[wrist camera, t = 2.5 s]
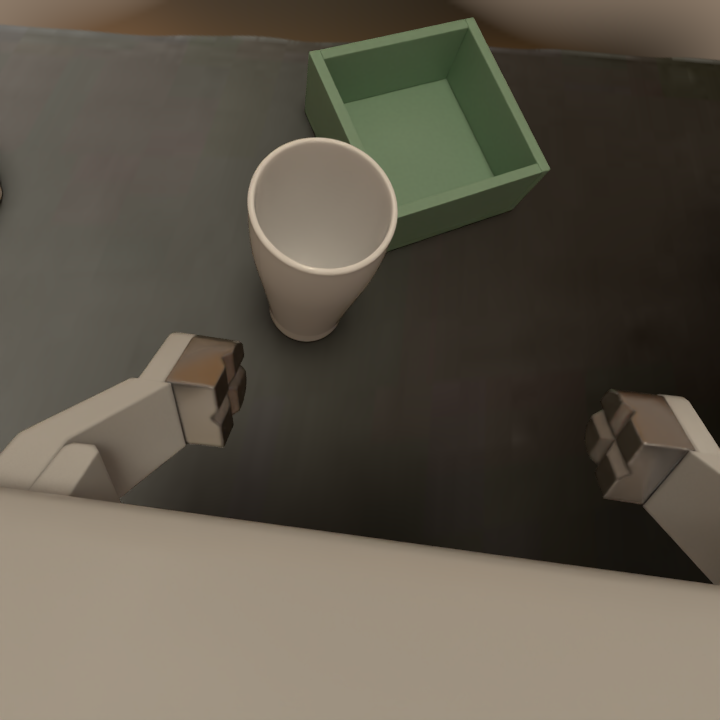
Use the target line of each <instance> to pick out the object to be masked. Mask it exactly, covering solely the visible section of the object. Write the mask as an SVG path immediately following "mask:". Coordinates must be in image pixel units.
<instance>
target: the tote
mask: <svg viewBox="0 0 720 720" xmlns="http://www.w3.org/2000/svg"><path fill="white" fill-rule="evenodd" d="M305 113H306V115H307V118H308V120H309V122H310V124H311V127H312V129H313V131H314V133H315V136H316V137H320V138H330V139H335V140H339V141H342V142H345V143H348V144H350V145H352V146H354V147H356V148H358V149H360V150H362V151H363V152H365V153H366V154H367V155H369V156H370V157H371V158H372V159H373V160H374V161H375V162H376V163H377V164H378V165H379V166H380V167H381V168H382V169H383V171H384V172H385V174H386V175H387V177H388V178H389V180H390V182H391V184H392V187H393V189H394V192H395V195H396V200H397V207H398V217H397V224H396V229H395V232H394V235H393V237H392V239H391V242H390V245H389V247H388V250H387V251H390V250H393V249H396V248H399V247H402V246H405V245H408V244H411V243H414V242H417V241H420V240H423V239H426V238H429V237H432V236H435V235H438V234H441V233H444V232H447V231H450V230H453V229H456V228H459V227H462V226H465V225H468V224H471V223H474V222H477V221H480V220H483V219H486V218H489V217H492V216H495V215H498V214H501V213H504V212H507V211H510V210H512V209H513V208H514V207H515V206H516V205H517V204H518V203H519V202H520V201H521V200H522V199H523V198H524V197H525V196H526V195H527V194H528V192H529V191H530V190H531V189H532V188H533V187H534V186H535V185H536V184H537V183H538V182H539V181H540V180H541V179H542V178H543V177H544V176H545V175H546V173H547V172H548V171H549V170H550V168H549V166H548V164H547V162H546V160H545V158H544V156H543V154H542V152H541V150H540V148H539V146H538V144H537V142H536V140H535V138H534V136H533V134H532V132H531V130H530V128H529V126H528V124H527V122H526V120H525V118H524V116H523V114H522V112H521V110H520V108H519V107H518V105H517V103H516V101H515V99H514V97H513V95H512V93H511V91H510V89H509V87H508V85H507V83H506V81H505V79H504V77H503V75H502V73H501V71H500V69H499V67H498V65H497V63H496V61H495V59H494V57H493V55H492V53H491V51H490V49H489V47H488V45H487V44H486V41H485V40H484V38H483V36H482V34H481V32H480V30H479V28H478V26H477V24H476V22H475V20H474V18H469V19H465V20H464V19H463V20H459V21H454V22H449V23H445V24H440V25H435V26H431V27H426V28H421V29H417V30H412V31H407V32H402V33H398V34H393V35H388V36H383V37H379V38H374V39H369V40H364V41H360V42H355V43H350V44H346V45H341V46H336V47H331V48H327V49H322V50H316V51H311V52H309V59H308V73H307V86H306V100H305Z"/></svg>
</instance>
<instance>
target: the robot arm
mask: <svg viewBox="0 0 720 720" xmlns="http://www.w3.org/2000/svg"><path fill="white" fill-rule="evenodd" d="M243 357H244V351H243V344H242V343H241V342H240V341H235V340H228V339H222V338H215V337H208V336H202V335H193V334H186V333H179V332H174V333H172V334H170V335H169V336H168V337H167V339H166V340H165V342H164V343H163V344H162V346H161V347H160V349H159V350H158V351H157V353H156V354H155V356H154V357H153V358H152V360H151V361H150V363H149V364H148V365H147V367H146V368H145V370H144V371H143V372H142V374H141V375H140V377H139V378H130V379H128V380H126V381H124V382H122V383H120V384H118V385H116V386H113V387H111V388H109V389H107V390H105V391H103V392H101V393H99V394H97V395H95V396H93V397H91V398H89V399H87V400H85V401H83V402H81V403H79V404H77V405H75V406H73V407H71V408H68V409H66V410H64V411H62V412H60V413H58V414H56V415H54V416H52V417H50V418H48V419H46V420H44V421H42V422H40V423H38V424H36V425H34V426H32V427H30V428H28V429H26V430H24V431H21V432H19V433H18V434H17V435H16V436H15V438H14V439H13V440H12V441H11V442H10V443H9V444H8V445H7V447H6V448H5V449H4V450H3V451H2V452H1V453H0V720H720V449H719V447H718V445H717V444H716V442H715V441H714V439H713V438H712V436H711V435H710V433H709V432H708V430H707V428H706V427H705V425H704V424H703V422H702V421H701V419H700V418H699V416H698V415H697V413H696V411H695V410H694V408H693V407H692V405H691V404H690V402H689V401H688V400H686V399H685V398H683V397H680V396H670V395H661V394H658V395H655V394H648V393H640V392H631V391H623V390H615V389H610V390H609V391H608V392H606V393H605V394H604V396H603V398H602V399H601V401H600V403H601V406H602V409H603V410H601V411H599V412H598V413H596V414H594V415H592V416H591V418H590V420H589V422H588V424H587V426H586V430H585V437H584V440H585V448H586V451H587V454H588V456H589V457H590V458H591V459H592V460H593V461H594V462H595V463H596V464H597V465H598V467H597V469H596V470H595V472H594V474H595V476H596V479H597V482H598V485H599V487H600V490H601V493H602V496H603V498H604V499H611V500H617V501H623V502H629V503H636V504H642V505H643V507H644V508H645V509H646V511H647V512H648V513H649V514H650V515H651V516H652V517H653V518H654V519H655V520H656V521H657V523H658V524H659V525H660V526H661V527H662V528H663V529H664V530H665V531H666V532H667V534H668V535H669V536H670V537H671V538H672V539H673V540H674V541H675V542H676V543H677V544H678V546H679V547H680V548H681V549H682V550H683V551H684V552H685V553H686V554H687V555H688V556H689V558H690V559H691V560H692V561H693V562H694V563H695V564H696V565H697V566H698V567H699V568H700V570H701V571H702V572H703V573H704V574H705V575H706V576H707V577H708V578H709V579H710V581H711V582H712V583H713V584H707V583H699V582H692V581H685V580H678V579H670V578H663V577H656V576H648V575H641V574H634V573H627V572H619V571H612V570H605V569H597V568H590V567H582V566H575V565H568V564H560V563H553V562H546V561H538V560H531V559H524V558H516V557H509V556H502V555H494V554H487V553H480V552H473V551H465V550H458V549H451V548H444V547H436V546H429V545H422V544H415V543H407V542H400V541H393V540H386V539H378V538H371V537H364V536H357V535H349V534H342V533H335V532H327V531H320V530H313V529H306V528H298V527H291V526H284V525H276V524H269V523H262V522H255V521H247V520H240V519H233V518H225V517H218V516H211V515H204V514H196V513H189V512H182V511H174V510H167V509H160V508H152V507H145V506H138V505H131V504H123V503H121V502H120V500H119V498H120V497H122V496H123V495H124V494H126V493H127V492H128V491H129V490H131V489H132V488H133V487H134V486H136V485H137V484H138V483H139V482H141V481H142V480H143V479H144V478H146V477H147V476H148V475H149V474H151V473H152V472H153V471H154V470H156V469H157V468H158V467H160V466H161V465H162V464H163V463H165V462H166V461H167V460H168V459H170V458H171V457H172V456H173V455H175V454H176V453H177V452H178V451H180V450H181V449H182V448H183V447H185V446H186V444H195V445H204V446H214V447H223V448H224V446H225V444H226V442H227V439H228V437H229V435H230V432H231V430H232V428H233V425H234V424H233V416H232V415H233V414H235V413H236V412H238V411H239V410H240V408H241V406H242V403H243V401H244V396H245V391H246V371H245V369H244V368H243V367H242V366H241V365H240V364H241V362H242V360H243Z"/></svg>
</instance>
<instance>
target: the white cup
mask: <svg viewBox="0 0 720 720" xmlns="http://www.w3.org/2000/svg"><path fill="white" fill-rule="evenodd" d="M247 204H248V228H249V237H250V244H251V250H252V254H253V258H254V262H255V265H256V268H257V271H258V274H259V277H260V280H261V283H262V285H263V288H264V291H265V294H266V297H267V300H268V303H269V310H270V315H271V318H272V320H273V322H274V324H275V325H276V327H277V328H278V329H279V330H280V331H281V332H282V333H283V334H285V335H286V336H288V337H290V338H292V339H294V340H298V341H305V342H309V341H316V340H319V339H322V338H324V337H325V336H327V335H329V334H330V333H331V332H332V331H333V330H334V329H335V328H336V326H337V325H338V323H339V321H340V319H341V318H342V316H343V315H344V314H345V313H346V311H347V310H348V309H349V308H350V306H351V305H352V304H353V303H354V302H355V300H356V299H357V298H358V297H359V296H360V294H361V293H362V292H363V291H364V289H365V288H366V287H367V285H368V284H369V283H370V281H371V280H372V278H373V277H374V275H375V273H376V272H377V270H378V268H379V267H380V265H381V263H382V261H383V258H384V256H385V254H386V252H387V250H388V247H389V245H390V242H391V239H392V237H393V235H394V232H395V229H396V224H397V217H398V207H397V200H396V195H395V192H394V189H393V187H392V184H391V182H390V180H389V178H388V177H387V175H386V174H385V172H384V171H383V169H382V168H381V167H380V166H379V165H378V164H377V163H376V162H375V161H374V160H373V159H372V158H371V157H370V156H369V155H367V154H366V153H365V152H363V151H362V150H360V149H358V148H356V147H354V146H352V145H350V144H348V143H345V142H342V141H339V140H335V139H330V138H320V137H314V138H303V139H299V140H295V141H292V142H289V143H287V144H284V145H282V146H280V147H279V148H277V149H275V150H274V151H273V152H271V153H270V154H269V155H268V156H267V157H266V158H265V159H264V160H263V161H262V162H261V163H260V165H259V166H258V167H257V169H256V171H255V173H254V175H253V177H252V179H251V182H250V185H249V190H248V198H247Z"/></svg>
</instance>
